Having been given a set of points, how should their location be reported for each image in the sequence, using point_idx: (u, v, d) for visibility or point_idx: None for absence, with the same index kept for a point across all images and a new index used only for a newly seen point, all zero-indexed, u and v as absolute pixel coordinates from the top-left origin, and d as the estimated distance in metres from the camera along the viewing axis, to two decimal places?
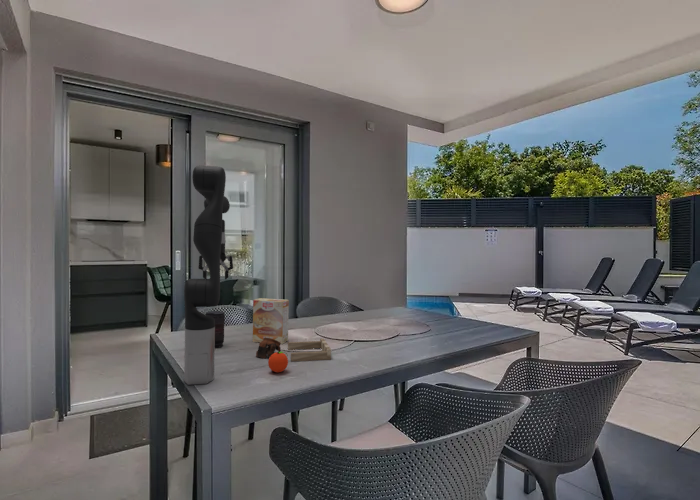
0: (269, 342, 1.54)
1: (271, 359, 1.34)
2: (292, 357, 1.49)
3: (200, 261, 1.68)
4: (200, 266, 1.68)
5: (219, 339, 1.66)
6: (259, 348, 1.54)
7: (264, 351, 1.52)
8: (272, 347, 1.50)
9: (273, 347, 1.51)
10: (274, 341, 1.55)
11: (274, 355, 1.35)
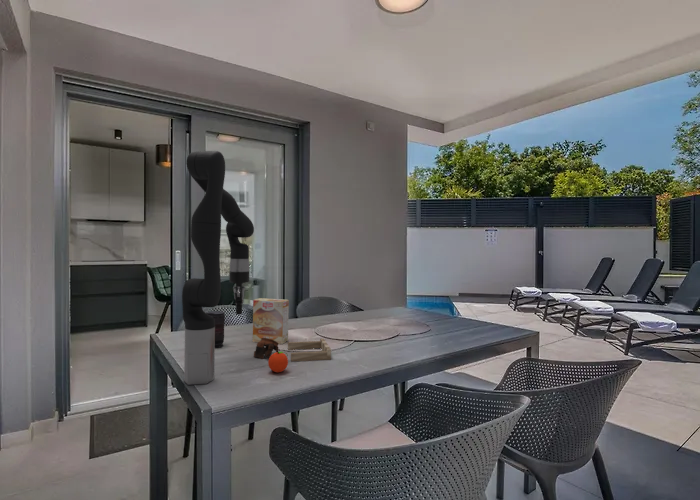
0: (267, 342, 1.54)
1: (271, 359, 1.34)
2: (292, 357, 1.49)
3: (241, 297, 1.49)
4: (241, 300, 1.50)
5: (219, 339, 1.66)
6: (257, 348, 1.54)
7: (262, 351, 1.52)
8: (270, 347, 1.50)
9: (271, 347, 1.51)
10: (272, 341, 1.55)
11: (274, 355, 1.35)
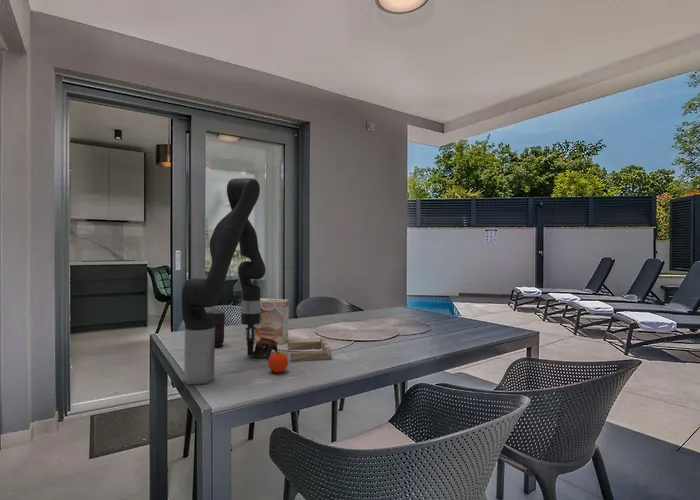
0: (266, 342, 1.54)
1: (271, 359, 1.34)
2: (292, 357, 1.49)
3: (253, 339, 1.50)
4: (253, 342, 1.51)
5: (219, 339, 1.66)
6: (256, 348, 1.53)
7: (261, 351, 1.52)
8: (269, 347, 1.50)
9: (270, 347, 1.50)
10: (271, 341, 1.55)
11: (274, 355, 1.35)
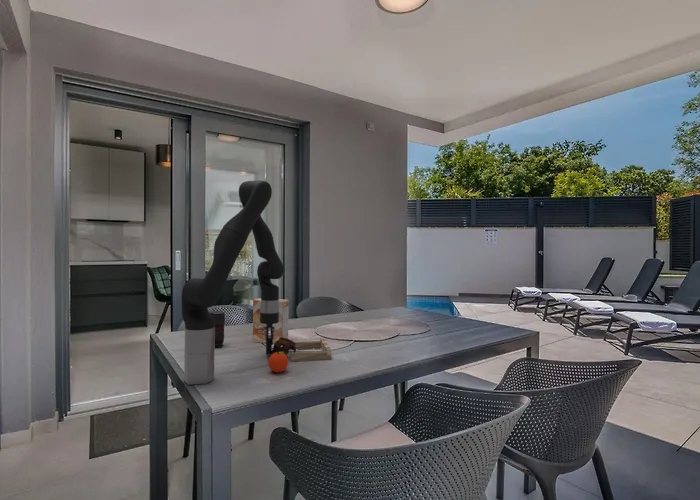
0: (283, 342, 1.55)
1: (271, 359, 1.34)
2: (292, 357, 1.49)
3: (272, 338, 1.52)
4: None
5: (219, 339, 1.66)
6: (274, 347, 1.55)
7: (278, 351, 1.53)
8: (285, 347, 1.51)
9: (286, 347, 1.51)
10: (289, 341, 1.56)
11: (274, 355, 1.35)
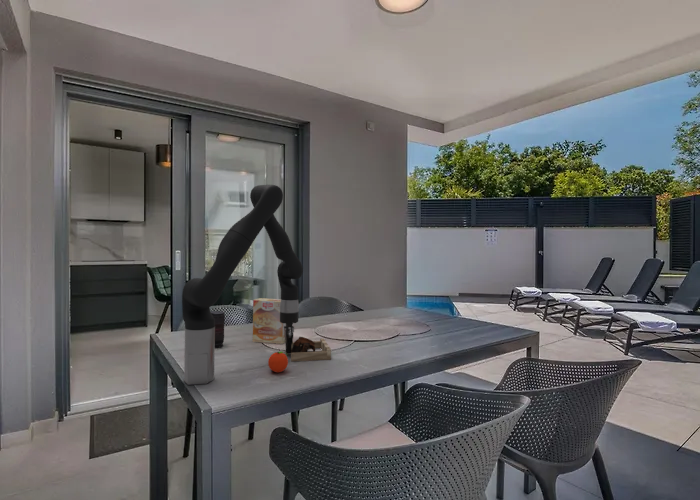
0: (303, 341, 1.56)
1: (271, 359, 1.34)
2: (292, 357, 1.49)
3: (292, 337, 1.53)
4: None
5: (219, 339, 1.66)
6: (293, 346, 1.56)
7: (297, 350, 1.54)
8: (305, 346, 1.52)
9: (306, 346, 1.52)
10: (308, 340, 1.57)
11: (274, 355, 1.35)
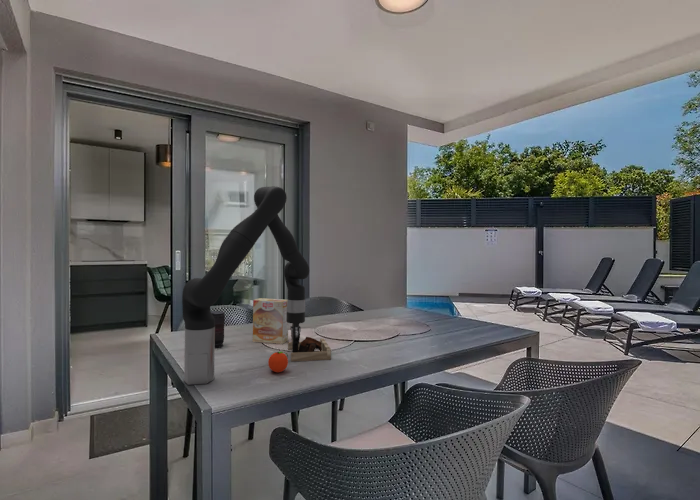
0: (309, 341, 1.56)
1: (271, 359, 1.34)
2: (292, 357, 1.49)
3: None
4: None
5: (219, 339, 1.66)
6: (300, 347, 1.57)
7: (304, 350, 1.55)
8: (311, 346, 1.52)
9: (312, 346, 1.52)
10: (314, 341, 1.57)
11: (274, 355, 1.35)
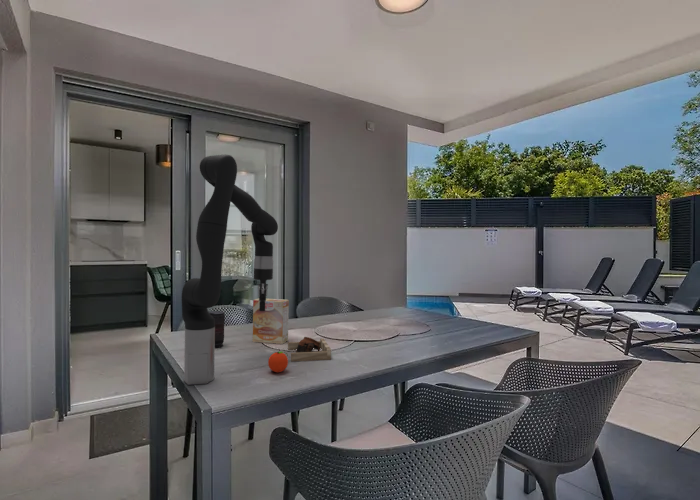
0: (308, 341, 1.57)
1: (271, 359, 1.34)
2: (292, 357, 1.49)
3: (265, 293, 1.51)
4: (265, 297, 1.52)
5: (219, 339, 1.66)
6: (298, 347, 1.57)
7: (302, 350, 1.55)
8: (309, 346, 1.52)
9: (310, 346, 1.52)
10: (313, 340, 1.57)
11: (274, 355, 1.35)
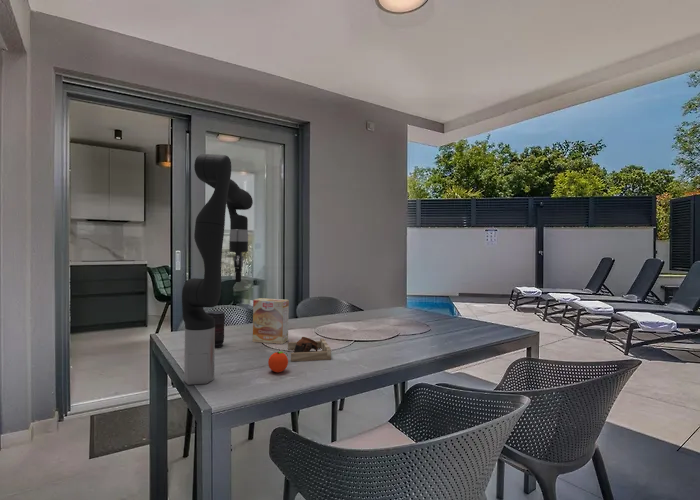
0: (305, 341, 1.57)
1: (271, 359, 1.34)
2: (292, 357, 1.49)
3: (240, 265, 1.58)
4: (241, 268, 1.60)
5: (219, 339, 1.66)
6: (296, 346, 1.57)
7: (300, 350, 1.55)
8: (307, 346, 1.52)
9: (308, 346, 1.53)
10: (310, 340, 1.57)
11: (274, 355, 1.35)
